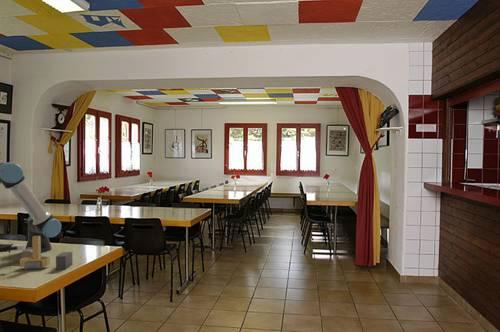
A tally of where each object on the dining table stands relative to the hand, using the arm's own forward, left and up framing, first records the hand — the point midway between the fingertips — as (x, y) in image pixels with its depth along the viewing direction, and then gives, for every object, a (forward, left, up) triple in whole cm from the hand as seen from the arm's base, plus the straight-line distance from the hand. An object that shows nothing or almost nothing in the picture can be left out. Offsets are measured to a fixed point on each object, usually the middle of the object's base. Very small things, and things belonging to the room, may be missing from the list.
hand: (24, 247), depth 212 cm
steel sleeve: (0, +5, -12) cm, 13 cm away
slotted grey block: (0, +21, -12) cm, 24 cm away
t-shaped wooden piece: (0, +5, -10) cm, 11 cm away
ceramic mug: (-17, -4, -12) cm, 21 cm away
